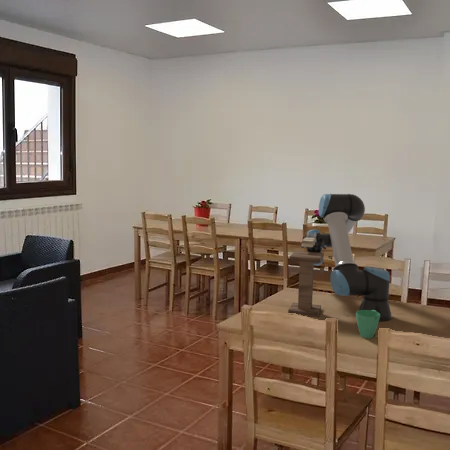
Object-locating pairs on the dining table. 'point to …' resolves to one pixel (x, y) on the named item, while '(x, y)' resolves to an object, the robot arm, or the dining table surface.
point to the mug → (367, 322)
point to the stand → (306, 283)
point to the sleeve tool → (308, 241)
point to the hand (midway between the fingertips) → (311, 234)
